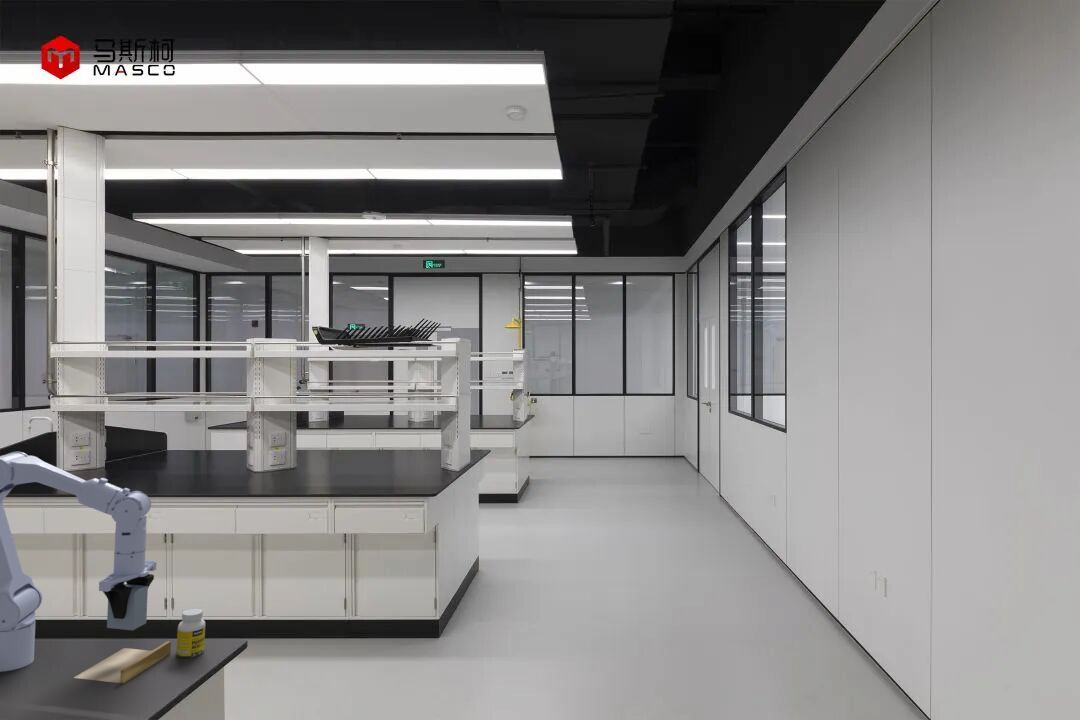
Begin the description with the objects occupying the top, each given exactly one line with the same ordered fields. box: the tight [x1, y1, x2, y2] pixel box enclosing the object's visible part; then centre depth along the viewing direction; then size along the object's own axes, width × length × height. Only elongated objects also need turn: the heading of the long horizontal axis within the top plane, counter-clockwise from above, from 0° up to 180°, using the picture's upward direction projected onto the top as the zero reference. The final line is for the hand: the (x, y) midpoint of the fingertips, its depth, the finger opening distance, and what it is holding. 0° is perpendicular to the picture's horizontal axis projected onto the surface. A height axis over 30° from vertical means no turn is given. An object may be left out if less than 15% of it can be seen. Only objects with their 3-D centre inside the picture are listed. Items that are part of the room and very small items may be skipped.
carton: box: [106, 583, 149, 631], centre depth 144 cm, size 4×6×8 cm
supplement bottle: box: [175, 608, 206, 659], centre depth 148 cm, size 5×5×10 cm
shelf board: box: [73, 640, 172, 684], centre depth 141 cm, size 11×14×3 cm
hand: (127, 613), depth 144 cm, fingers closed on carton, 4 cm apart
